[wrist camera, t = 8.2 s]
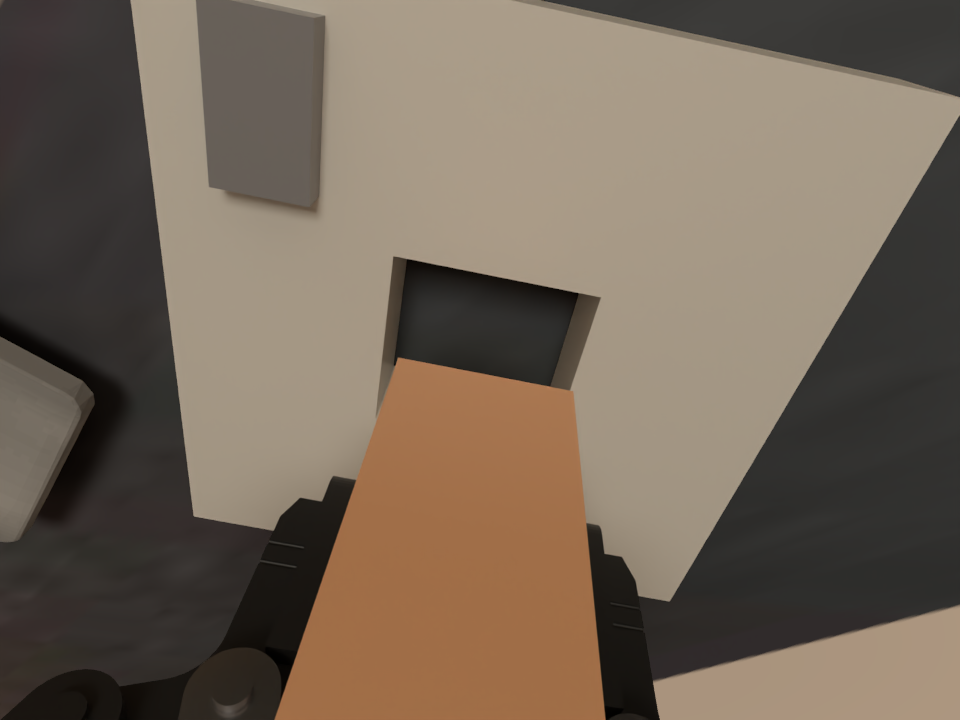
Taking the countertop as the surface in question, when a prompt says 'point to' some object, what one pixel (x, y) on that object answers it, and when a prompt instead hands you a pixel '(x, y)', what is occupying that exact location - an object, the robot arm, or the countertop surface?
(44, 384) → the light switch
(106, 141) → the countertop surface
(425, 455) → the plug
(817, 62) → the socket
